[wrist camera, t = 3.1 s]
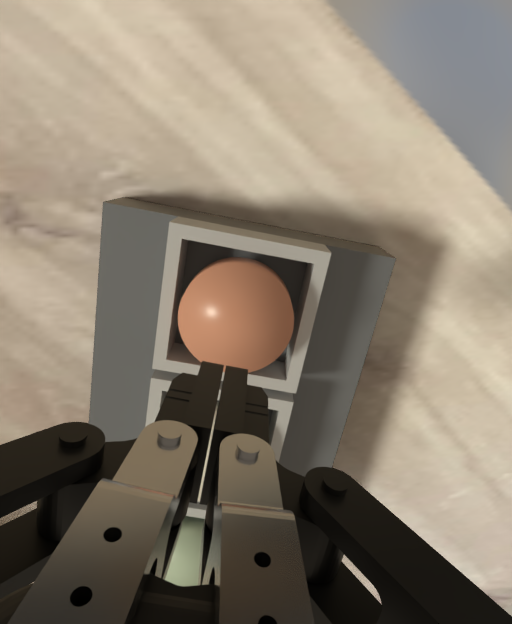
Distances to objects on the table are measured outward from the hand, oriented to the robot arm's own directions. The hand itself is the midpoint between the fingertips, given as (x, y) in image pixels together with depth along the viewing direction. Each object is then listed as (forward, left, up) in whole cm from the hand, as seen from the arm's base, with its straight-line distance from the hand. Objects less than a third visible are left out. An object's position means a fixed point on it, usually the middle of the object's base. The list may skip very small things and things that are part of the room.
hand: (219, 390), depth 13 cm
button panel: (+7, 0, -11) cm, 13 cm away
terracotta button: (-1, 0, -6) cm, 6 cm away
